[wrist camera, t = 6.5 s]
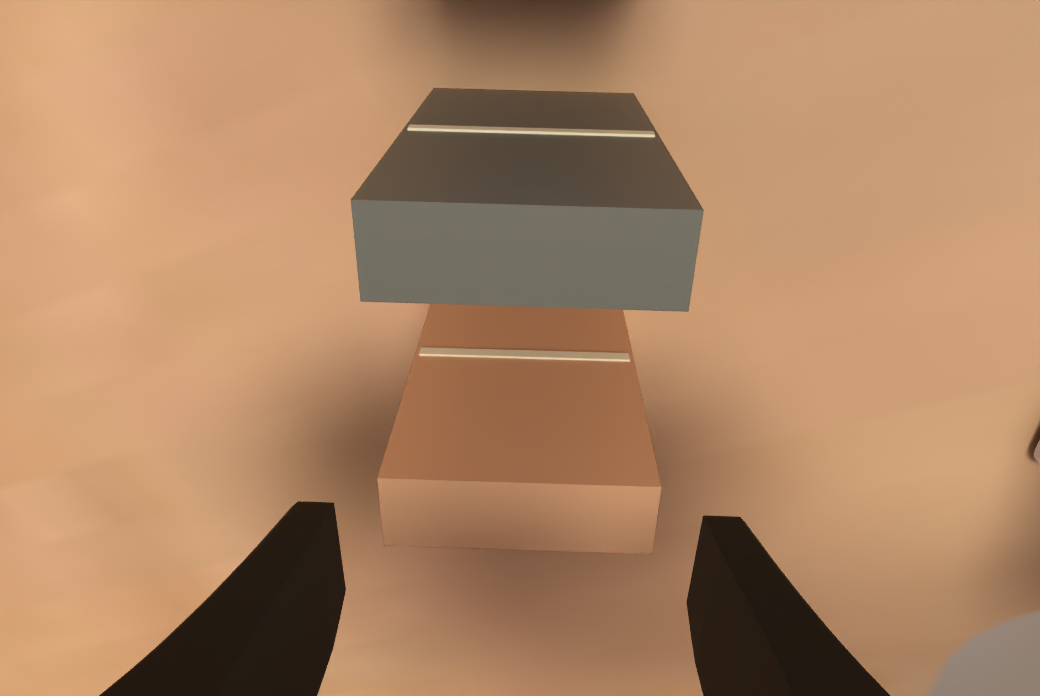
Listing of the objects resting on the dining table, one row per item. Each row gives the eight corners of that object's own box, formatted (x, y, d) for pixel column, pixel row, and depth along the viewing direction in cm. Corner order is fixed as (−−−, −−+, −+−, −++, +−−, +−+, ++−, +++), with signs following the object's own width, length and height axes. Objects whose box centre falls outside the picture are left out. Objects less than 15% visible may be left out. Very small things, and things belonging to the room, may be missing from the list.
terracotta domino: (616, 276, 21) (661, 484, 13) (611, 330, 21) (651, 556, 14) (439, 272, 21) (376, 476, 13) (441, 325, 21) (383, 547, 14)
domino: (633, 91, 18) (703, 206, 10) (627, 159, 19) (687, 314, 11) (433, 85, 18) (350, 196, 10) (435, 154, 19) (360, 304, 11)
